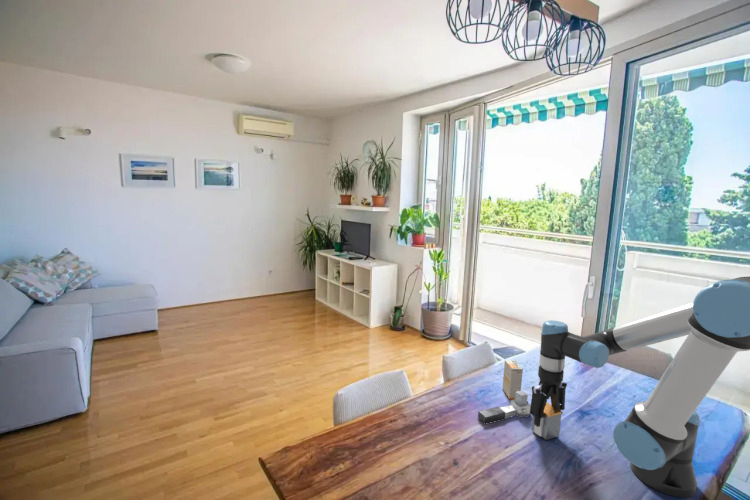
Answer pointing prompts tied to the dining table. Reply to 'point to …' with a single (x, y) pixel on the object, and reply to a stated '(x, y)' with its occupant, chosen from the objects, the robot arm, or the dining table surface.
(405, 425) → the dining table surface
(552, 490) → the dining table surface
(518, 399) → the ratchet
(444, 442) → the dining table surface
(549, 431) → the grey orange-topped block
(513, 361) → the supplement box
